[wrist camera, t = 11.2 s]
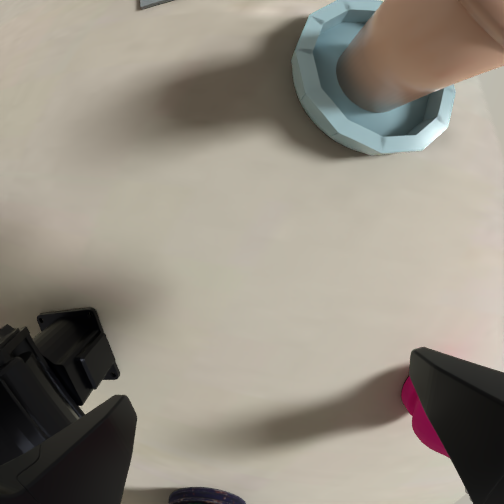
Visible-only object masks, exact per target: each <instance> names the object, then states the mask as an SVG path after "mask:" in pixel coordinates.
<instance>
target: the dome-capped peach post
mask: <svg viewBox="0 0 504 504" xmlns="http://www.w3.org/2000/svg"><path fill="white" fill-rule="evenodd" d="M501 66H504V0H384V2H383V3H382V4H381V5H380V6H379V8H378V9H377V10H376V11H375V13H374V14H373V15H372V16H371V17H370V19H369V20H368V21H367V22H366V24H365V25H364V26H363V27H362V29H361V30H360V31H359V32H358V34H357V35H356V36H355V37H354V39H353V40H352V41H351V42H350V44H349V45H348V46H347V48H346V49H345V50H344V51H343V53H342V54H341V55H340V57H339V59H338V61H337V65H336V75H337V80H338V83H339V85H340V87H341V89H342V91H343V92H344V94H345V95H346V96H347V97H348V98H349V99H350V100H351V101H352V102H353V103H354V104H356V105H357V106H358V107H360V108H362V109H364V110H367V111H370V112H375V113H384V112H388V111H391V110H393V109H395V108H398V107H400V106H402V105H404V104H407V103H409V102H411V101H414V100H416V99H418V98H421V97H423V96H426V95H428V94H430V93H433V92H435V91H438V90H440V89H443V88H445V87H448V86H450V85H453V84H455V83H458V82H460V81H463V80H466V79H468V78H471V77H474V76H476V75H479V74H481V73H484V72H487V71H490V70H492V69H495V68H498V67H501Z"/></svg>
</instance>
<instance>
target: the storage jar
mask: <svg viewBox="0 0 504 504" xmlns="http://www.w3.org/2000/svg"><path fill="white" fill-rule="evenodd" d="M169 504H246V503H245V501H244V500H243V499H241V498H240V497H238V496H236V495H234V494H232V493H229V492H226V491H222V490H218V489H212V488H204V487H190V488H183V489H179V490H176V491H174V492H173V493H172V494H171V495H170V497H169Z"/></svg>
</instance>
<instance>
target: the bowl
mask: <svg viewBox="0 0 504 504" xmlns="http://www.w3.org/2000/svg"><path fill="white" fill-rule="evenodd" d="M382 3H383V1H379V0H336V1H334V2H333V3H331V4H329V5H327V6H325V7H323V8H321V9H319V10H317V11H316V12H314V13H312V14H310V15H309V17H308V20H307V22H306V24H305V27H304V29H303V31H302V34H301V36H300V39H299V41H298V44H297V46H296V48H295V51H294V54H293V57H292V59H291V64H292V76H293V83H294V87H295V90H296V94H297V96H298V98H299V101H300V103H301V105H302V107H303V108H304V110H305V112H306V113H307V115H308V116H309V117H310V119H311V120H312V121H313V122H314V123H315V124H316V126H317V127H318V128H319V129H320V130H321V131H323V132H324V133H325V134H326V135H327V136H328V137H330V138H331V139H333V140H334V141H336V142H337V143H339V144H341V145H343V146H345V147H347V148H350V149H352V150H355V151H358V152H362V153H366V154H368V155H370V156H371V155H385V154H393V153H406V152H414V151H422V150H423V149H424V148H425V147H427V146H428V145H429V144H430V143H431V142H432V141H433V140H434V139H436V138H437V137H438V136H439V135H440V134H441V133H442V132H443V131H444V130H446V129H447V128H448V125H449V121H450V117H451V112H452V108H453V103H454V98H455V93H456V92H455V88H454V84H453V85H450V86H448V87H445V88H443V89H440V90H438V91H435V92H433V93H430V94H428V95H426V96H423V97H421V98H418V99H416V100H414V101H411V102H409V103H407V104H404V105H402V106H400V107H398V108H395V109H393V110H391V111H388V112H384V113H375V112H370V111H367V110H364V109H362V108H360V107H358V106H357V105H356V104H354V103H353V102H352V101H351V100H350V99H349V98H348V97H347V96H346V95H345V94H344V92H343V91H342V89H341V87H340V85H339V83H338V80H337V75H336V65H337V61H338V59H339V57H340V55H341V54H342V53H343V51H344V50H345V49H346V48H347V46H348V45H349V44H350V42H351V41H352V40H353V39H354V37H355V36H356V35H357V34H358V32H359V31H360V30H361V29H362V27H363V26H364V25H365V24H366V22H367V21H368V20H369V19H370V17H371V16H372V15H373V14H374V13H375V11H376V10H377V9H378V8H379V6H380V5H381V4H382Z"/></svg>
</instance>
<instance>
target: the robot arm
mask: <svg viewBox="0 0 504 504" xmlns="http://www.w3.org/2000/svg"><path fill="white" fill-rule="evenodd" d="M89 312H90V313H91V314H92V316H91V315H90V314H89ZM42 319H43V320H42ZM37 321H38V324H39V326H40V329H41V331H42V332H41V333H39V334H38V335H37V336H36V337H35V338H33V339H32V338H31V336H30V332H29V330H28V328H27V327H26V326H25V327H23V328H22V329H20V330H19V329H18V328H17V329H14V328H12V327H11V326H9V325H8V324H7V325H5V326H4V327H2V328H1V329H0V504H120V503H121V499H122V495H123V490H124V486H125V482H126V478H127V474H128V470H129V466H130V462H131V457H132V452H133V444H134V437H135V430H136V423H137V415H136V412H135V410H134V408H133V406H132V404H131V402H130V400H129V398H128V397H127V396H126V395H114V396H112V397H111V398H110V399H108V400H107V401H105V402H104V403H102V404H101V405H99V406H98V407H96V408H95V409H93V410H92V411H90V412H89V413H87V414H86V415H85V414H84V412H83V411H82V410H81V409H80V407H79V406H82V405H83V404H84V403H85V401H86V400H87V398H88V397H89V395H90V394H91V392H92V391H93V389H97V387H98V386H99V384H100V383H101V381H102V380H116V379H118V377H119V376H120V372H119V369H118V367H117V365H116V362H115V358H114V355H113V353H112V350H111V348H110V345H109V342H108V340H107V337H106V335H105V333H104V331H103V329H102V326H101V323H100V320H99V317H98V314H97V312H96V310H95V309H93V308H82V309H74V310H66V311H58V312H49V313H41V314H40V315H38V316H37ZM112 372H113V373H115V374H116V375H115V374H113V373H112ZM409 375H410V379H411V381H412V383H413V386H414V388H415V390H416V392H417V395H418V397H419V400H420V402H421V404H422V407H423V409H424V411H425V413H426V415H427V417H428V419H429V421H430V423H431V424H432V426H433V428H434V430H435V431H436V433H437V435H438V437H439V439H440V440H441V442H442V444H443V446H444V448H445V450H446V451H447V453H448V455H449V457H450V459H451V461H452V463H453V464H454V466H455V468H456V470H457V472H458V474H459V476H460V478H461V480H462V482H463V484H464V486H465V488H466V490H467V492H468V494H469V496H470V498H471V500H472V502H473V504H504V372H500V371H497V370H494V369H491V368H487V367H484V366H481V365H478V364H475V363H472V362H468V361H465V360H462V359H459V358H456V357H453V356H450V355H447V354H444V353H441V352H438V351H435V350H432V349H429V348H426V347H421V348H417V349H414V350H413V351H412V352H411V356H410V367H409Z"/></svg>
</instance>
